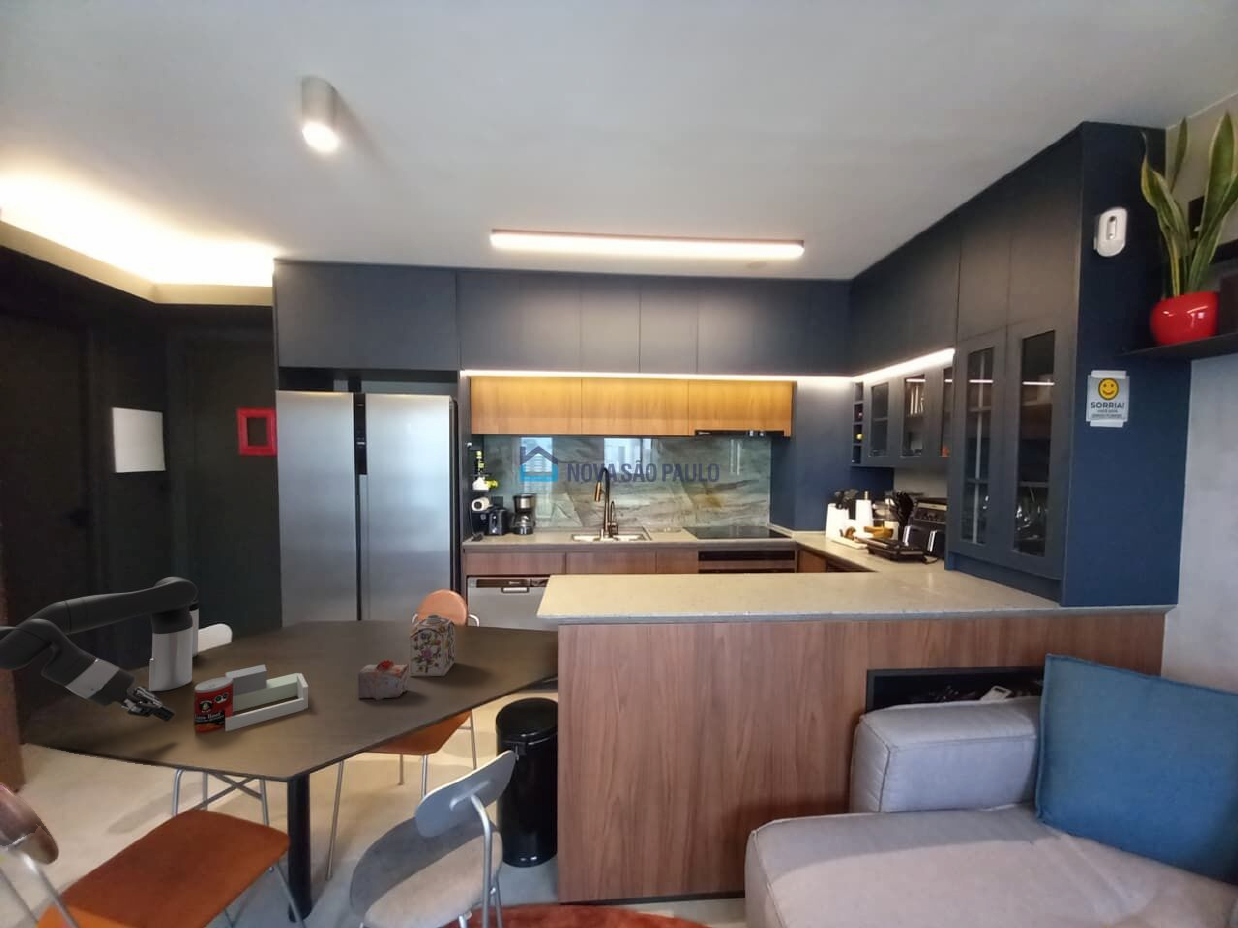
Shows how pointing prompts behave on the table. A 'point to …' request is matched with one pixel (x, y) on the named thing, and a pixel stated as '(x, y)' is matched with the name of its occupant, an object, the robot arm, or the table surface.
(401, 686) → the food item
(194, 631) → the travel mug
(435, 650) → the decorative jar
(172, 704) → the table surface
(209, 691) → the canned food
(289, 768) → the table surface
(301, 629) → the table surface
